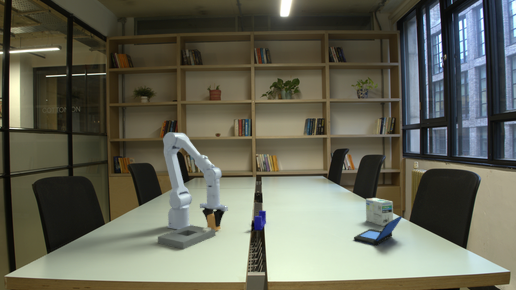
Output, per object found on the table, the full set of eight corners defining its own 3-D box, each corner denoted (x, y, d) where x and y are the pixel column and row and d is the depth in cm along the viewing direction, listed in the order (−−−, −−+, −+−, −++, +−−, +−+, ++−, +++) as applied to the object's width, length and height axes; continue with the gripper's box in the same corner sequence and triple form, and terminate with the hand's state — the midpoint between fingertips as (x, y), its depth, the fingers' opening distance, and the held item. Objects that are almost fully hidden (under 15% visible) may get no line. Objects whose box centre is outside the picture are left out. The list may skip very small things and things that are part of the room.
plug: (207, 231, 128) (207, 215, 128) (213, 228, 131) (213, 213, 131) (214, 232, 126) (214, 216, 126) (220, 230, 129) (220, 214, 129)
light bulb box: (393, 224, 133) (393, 201, 133) (382, 226, 131) (382, 202, 131) (376, 219, 143) (376, 197, 143) (365, 220, 141) (365, 198, 140)
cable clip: (256, 222, 141) (256, 210, 141) (266, 223, 140) (265, 210, 140) (251, 230, 129) (251, 216, 129) (261, 230, 128) (261, 217, 128)
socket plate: (157, 242, 114) (157, 234, 114) (190, 230, 129) (190, 222, 129) (183, 249, 106) (183, 239, 106) (215, 235, 122) (215, 227, 122)
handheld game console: (370, 232, 124) (369, 210, 124) (403, 238, 114) (402, 215, 114) (352, 241, 113) (352, 217, 113) (387, 249, 103) (387, 223, 103)
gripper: (194, 195, 129) (195, 225, 129) (220, 197, 121) (221, 230, 121) (205, 192, 135) (206, 221, 135) (230, 195, 127) (231, 226, 127)
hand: (213, 225), depth 129 cm, fingers closed on plug, 4 cm apart
